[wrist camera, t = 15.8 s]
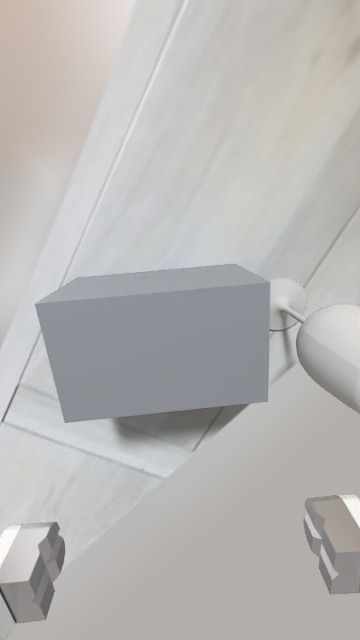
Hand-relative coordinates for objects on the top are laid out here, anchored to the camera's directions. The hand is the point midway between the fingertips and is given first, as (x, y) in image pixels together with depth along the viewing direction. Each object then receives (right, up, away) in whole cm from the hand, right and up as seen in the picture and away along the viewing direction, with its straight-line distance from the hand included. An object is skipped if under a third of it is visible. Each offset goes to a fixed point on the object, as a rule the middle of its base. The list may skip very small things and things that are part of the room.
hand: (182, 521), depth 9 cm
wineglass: (+13, +9, +29) cm, 33 cm away
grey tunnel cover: (-2, +7, +28) cm, 29 cm away
